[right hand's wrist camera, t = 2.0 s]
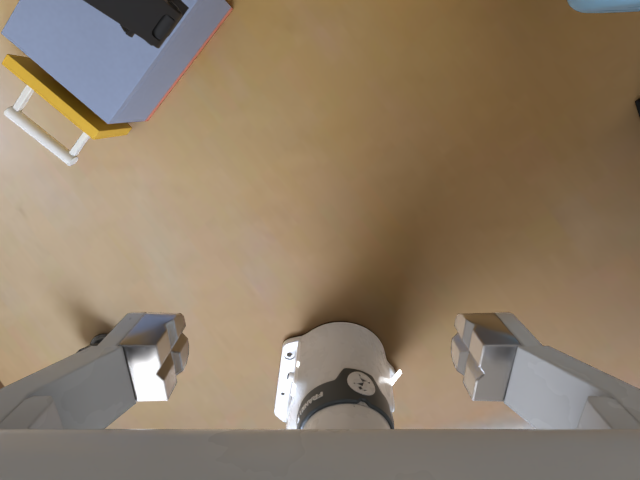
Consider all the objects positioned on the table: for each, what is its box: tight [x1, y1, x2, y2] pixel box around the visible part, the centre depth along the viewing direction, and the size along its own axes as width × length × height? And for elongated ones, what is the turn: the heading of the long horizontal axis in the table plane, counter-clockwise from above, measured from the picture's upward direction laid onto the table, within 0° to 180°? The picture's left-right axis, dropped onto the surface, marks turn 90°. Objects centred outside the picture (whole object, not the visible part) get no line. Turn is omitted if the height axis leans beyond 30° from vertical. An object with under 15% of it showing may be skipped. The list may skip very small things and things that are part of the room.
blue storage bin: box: [1, 0, 233, 124], centre depth 35 cm, size 16×11×9 cm
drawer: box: [2, 54, 132, 166], centre depth 37 cm, size 21×10×7 cm, turn 136°
